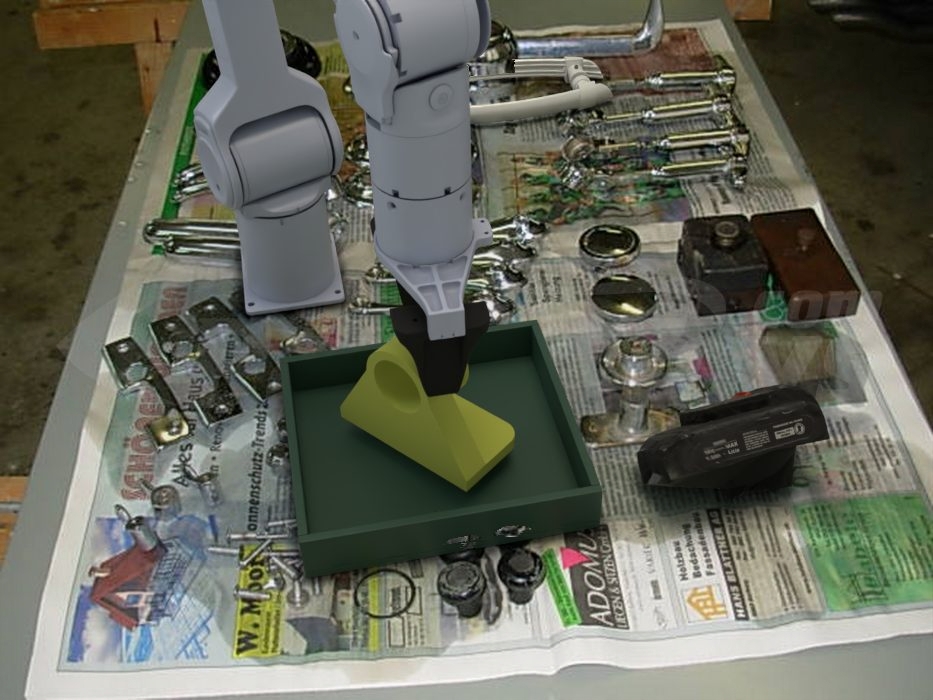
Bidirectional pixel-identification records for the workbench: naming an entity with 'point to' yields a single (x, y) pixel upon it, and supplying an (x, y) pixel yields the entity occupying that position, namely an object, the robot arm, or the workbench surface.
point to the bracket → (426, 419)
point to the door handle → (579, 97)
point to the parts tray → (416, 487)
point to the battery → (736, 442)
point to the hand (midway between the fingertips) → (431, 350)
